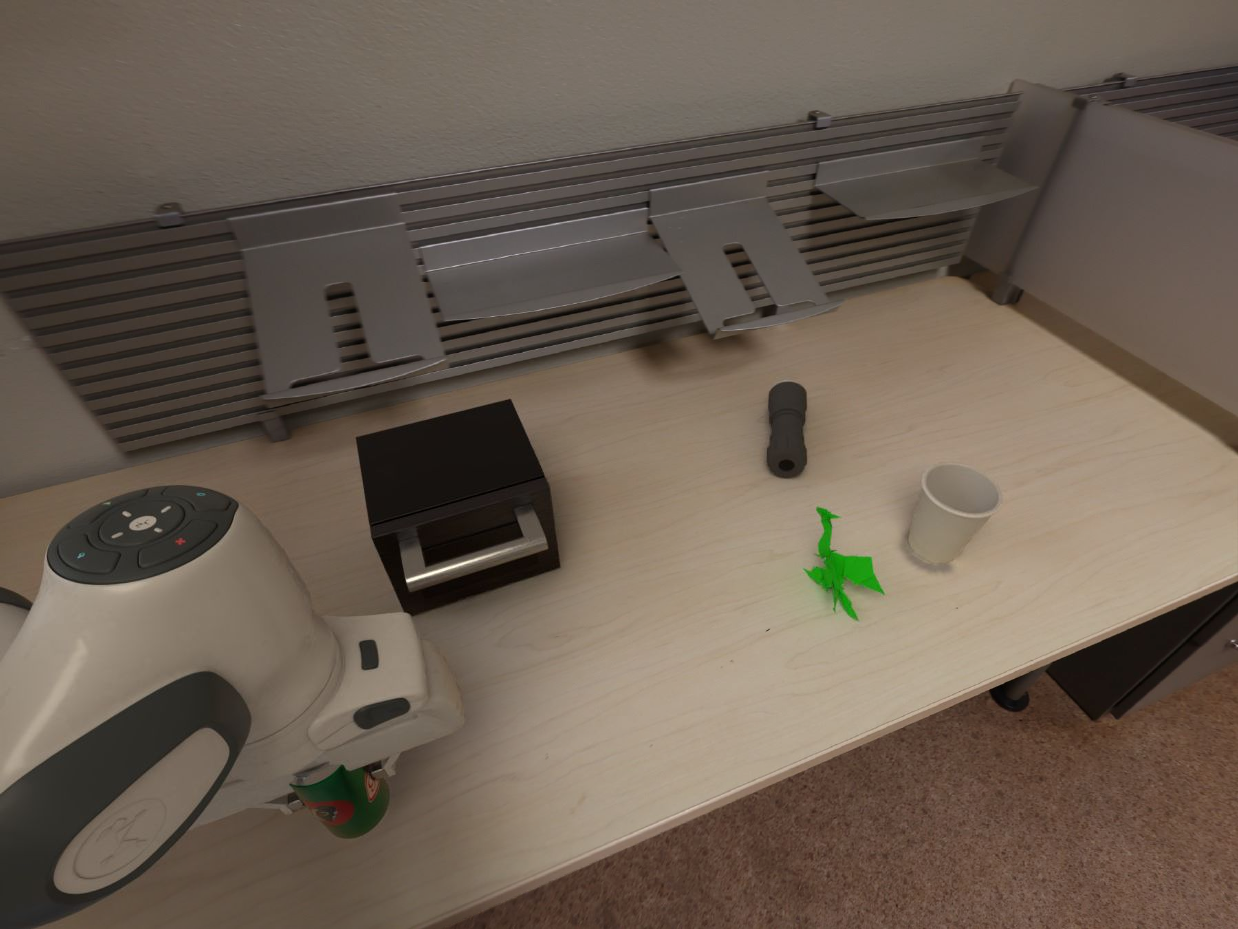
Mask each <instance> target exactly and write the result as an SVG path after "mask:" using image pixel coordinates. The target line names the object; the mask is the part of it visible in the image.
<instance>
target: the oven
mask: <svg viewBox="0 0 1238 929" xmlns="http://www.w3.org/2000/svg"><path fill="white" fill-rule="evenodd" d="M512 400H513V399H512V398H507V399H503V400H499V401H496V402H491V403H487V404H483V405H479V406H475V407H471V408H466V409H463V410H459V411H455V412H451V413H447V414H444V415H443V414H442V415H439V416H434V417H430V418H427V419H423V420H419V421H415V422H411V423H407V424H403V425H399V426H393V427H390V428H386V429H383V430H378V431H375V432H370V433H365V434H362V435H358V436H356V437H355V443H356V449H357V450H356V451H357V456H358V463H359V467H360V468H359V469H360V474H361V481H362V489H363V494H364V495H363V496H364V500H365V508H366V514H367V521H368V525H369V528H370V527H371V526H375V525H378V524H382V523H385V522H389V521H392V520H396V519H399V518H403V517H406V516H410V515H413V514H417V513H420V512H424V511H427V510H431V509H434V508H438V507H441V506H445V505H449V504H452V503H456V502H459V501H463V500H466V499H470V498H473V497H477V496H480V495H484V494H487V493H491V492H494V491H498V490H501V489H505V488H508V487H512V486H515V485H519V484H522V483H526V482H529V481H533V480H536V479H540V478H543V477H546V474H545V472H544V469H543V468H542V465H541V463H540V461H539V458H538V456H537V454H536V451H535V450H534V447H533V445H532V443H531V441H530V438H529V436H528V433H527V432H526V429H525V427H524V425H523V422H522V420H521V418H520V416H519V413H518V411H517V409H516V407H515V404H514V403H513V401H512Z"/></svg>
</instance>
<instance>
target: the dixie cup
mask: <svg viewBox="0 0 1238 929" xmlns="http://www.w3.org/2000/svg"><path fill="white" fill-rule="evenodd" d="M920 482H921V487H920V491H919V494H918V499H917V502H916V506H915V510H914V514H913V517H912V522H911V526H910V529H909V533H908V538H907V540H908V545H909V547H910V548H911V550H912V551H913V553H914V554H916V555H917V556H918V557H920V558H921V559H923V560H925V561H927V562H931V563H933V564H948V563H951V562H953V561H954V560H955V559H956V558H957V557H958V556H959V554H960V553H961V552H962V551H963V550H964V549H965V547H966V546H967V545H968V544H969V543H970V542H971V541H972V539H973V538H974V537H975V535H977V533H978V532H979V531H980V530H981V528H982V527H983V526H984V525H985V524H986V523H987V521H988V520H989V519H990V518H991V517H992V516H994V515H995V514H997V513H998V512H999V511H1000V510H1001V508H1002V506H1003V503H1004V495H1003V492H1002V490H1001V488H1000V486H999V484H997V482H996V481H995V480H994V479H993V478H992V477H991V476H989V475H988V473H987V474H986V472H984V471H982V470H981V469H978V468H977V467H975V466H971V465H969V464H966V463H962V462H961V463H960V462H952V461H949V462H948V461H946V462H939V463H935V464H933V465H931V466H929V467H928V468H926V469H925V471H924V472H923V473H922V475H921V481H920Z"/></svg>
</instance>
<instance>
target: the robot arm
mask: <svg viewBox="0 0 1238 929" xmlns="http://www.w3.org/2000/svg"><path fill="white" fill-rule="evenodd" d="M43 560H44V561H43V571H42V577H41V582H40V583H41V584H40V585H39V589H38V591H37V593H36V594H37V595H36V596H35V599H34V601H33V602H32V601H31V600H29V599H28V598H27V597H25V596H24V595H22V594H20V593H18V592H16V591H14V590H11V589H9V588H5V587H2V586H0V929H37V928H41V927H43V926H47V925H49V924H52V923H56V922H57V921H61V920H62V919H65V918H67V917H69V916H72V915H74V914H76V913H79V912H81V911H83V910H85V909H87V908H89V907H91V906H93V905H95V904H97V903H99V902H101V901H102V900H104V899H106V898H108V897H109V896H111V895H112V894H115V893H116V892H118V891H119V890H121V889H122V888H124V887H126V886H127V885H129V884H130V883H132V882H134V881H136V880H137V879H138V878H139V877H141V876H142V875H143V874H145V873H146V872H147V871H148V870H149V869H151V868H152V867H153V866H154V865H155V864H156V863H157V862H158V861H159V860H160V859H161V858H162V857H163V856H164V855H166V854H167V853H168V852H169V850H170V849H171V848H172V847H173V846H174V845H175V844H176V843H177V842H178V841H179V840H180V839H181V838H182V837H183V836H184V835H185V834H186V833H187V832H189V831H191V830H195V829H197V828H199V827H203V826H205V825H208V824H210V823H213V822H216V821H218V820H219V821H220V820H221V819H224V818H227V817H229V816H232V815H235V814H238V813H241V812H243V811H246V810H248V809H268V810H278V809H279V810H280V811H281V812H282V813H283V815H285V816H288V815H291V814H293V813H295V812H298V811H301V810H304V809H306V808H308V807H307V806H306V805H305V804H304V803H303V802H302V801H301V800H300V799H299V798H298V797H297V795H296V794H295V793H294V790H293V789H292V788H291V787H290V786H289V784H290V783H291V782H292V780H293V779H294V778H295V777H296V776H293V774H295V773H299V772H306V771H309V770H312V769H315V768H317V767H319V766H320V765H322V764H323V763H326V762H330V763H329V764H336V765H344V767H345V768H346V770H348V771H352V770H355V769H357V768H360V767H363V766H366V765H368V764H371V768H370V769H371V775H372V776H373V777H374V778H375V781H378V780H380V779H383V778H384V779H386V778H389V777H392V776H394V775H397V770H396V769H397V768H396V761H397V760H398V759H399V757H400V755H401V753H404V752H407V751H409V750H412V749H414V748H418V747H420V746H423V745H425V744H427V743H430V742H433V741H436V740H439V739H441V738H444V737H447V736H450V735H453V734H456V732H458V731H459V730H460V729H461V728H462V727H463V725H464V724H465V723H466V719H467V718H466V710H465V707H464V702H463V699H462V698H463V697H462V694H461V691H460V687H459V683H458V680H457V677H456V676H455V674H454V672H453V669H452V668H451V666H450V664H449V663H448V661H447V659H446V658H445V656H444V655H443V654H442V652H441V651H440V650H439V648H438V647H437V646H436V645H435V644H433V643H432V642H430V641H429V640H426V639H423V638H420V635H419V632H418V628H417V626H416V623H415V621H414V618H413V616H411V615H410V614H408V613H405V612H404V611H397V612H396V611H394V612H387V613H378V614H376V613H375V614H367V615H366V614H365V615H351V616H349V615H348V616H333V615H331V616H330V615H320V614H319V613H317V612H316V611H315V610H314V609H313V602H312V597H311V594H310V590H309V589H308V587H307V584H306V583H305V581H304V579H303V578H302V575H301V574H300V573H299V571H298V569H297V567H296V566H295V564H294V563H293V561H292V559H291V558H290V556H289V555H288V554H287V552H286V551H285V549H284V548H283V546H282V545H281V544H280V543H279V541H278V540H277V538H276V537H275V536H274V534H273V533H272V532H271V531H270V529H269V528H268V527H267V526H266V524H265V523H264V522H263V520H261V519H260V518H259V517H258V515H256V514H255V512H253V510H252V509H251V508H249V507H248V506H247V505H245V503H243V502H241V501H240V500H238V499H237V498H234V497H233V496H231V495H229V494H225V493H223V492H220V491H217V490H214V489H211V488H208V487H202V486H195V485H188V484H187V485H185V484H184V485H182V484H180V485H179V484H178V485H177V484H173V485H172V484H171V485H157V486H152V487H147V488H141V489H137V490H133V491H129V492H125V493H123V494H119V495H117V496H114V497H111V498H108V499H106V500H104V501H102V502H99V503H97V504H95V505H93V506H91V507H90V508H87V509H86V510H83V511H82V512H81V513H79V514H77V515H76V516H75V517H73V518H72V519H71V520H69V521H68V522H67V523H65V524H64V525H63V526H62V527H61V528H60V529H59V530H58V531H57V532H56V534H55V535H54V536H53V537H52V539H51V540H50V542H49V543H48V546H47V547H46V551H45V554H44V559H43Z"/></svg>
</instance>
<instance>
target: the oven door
mask: <svg viewBox="0 0 1238 929" xmlns="http://www.w3.org/2000/svg"><path fill="white" fill-rule="evenodd" d="M369 532H370V538H371V540H372V544H373V545H374V548H375V550H376V553H377V554H378V557H379V559H380V561H381V563H382V566H383V568H384V570H385V572H386V575H387V577H388V579H389V581H390V585H391V586H392V589H393V591H394V593H395V595H396V597H397V599H398V602H399V604H400V607H401V609H402V612H405V613H408V614H410V615H411V617H413V616H416V615H418V614H419V615H420V614H422V613H425V612H428V611H431V610H434V609H437V608H441V607H444V606H447V605H450V604H453V603H455V602H460V601H462V600H466V599H468V598H471V597H474V596H477V595H481V594H484V593H486V592H487V593H488V592H490V591H494V590H496V589H499V588H503V587H505V586H508V585H512V584H514V583H518V582H521V581H525V580H526V579H530V578H534V577H536V576H539V575H543V574H546V573H548V572H551V571H554V570H558V569H560V568H561V567H562V566H561V560H560V552H559V544H558V537H557V536H558V535H557V529H556V522H555V514H554V506H553V500H552V492H551V486H550V483H549V481H548V479H547V477H546V476H545V477H543V478H540V479H536V480H533V481H529V482H526V483H522V484H519V485H515V486H512V487H508V488H505V489H501V490H498V491H494V492H491V493H487V494H484V495H480V496H477V497H473V498H470V499H466V500H463V501H459V502H456V503H452V504H449V505H445V506H441V507H438V508H434V509H431V510H427V511H424V512H420V513H417V514H413V515H410V516H406V517H403V518H399V519H396V520H392V521H389V522H385V523H382V524H378V525H375V526H371V527H370V526H369Z"/></svg>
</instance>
